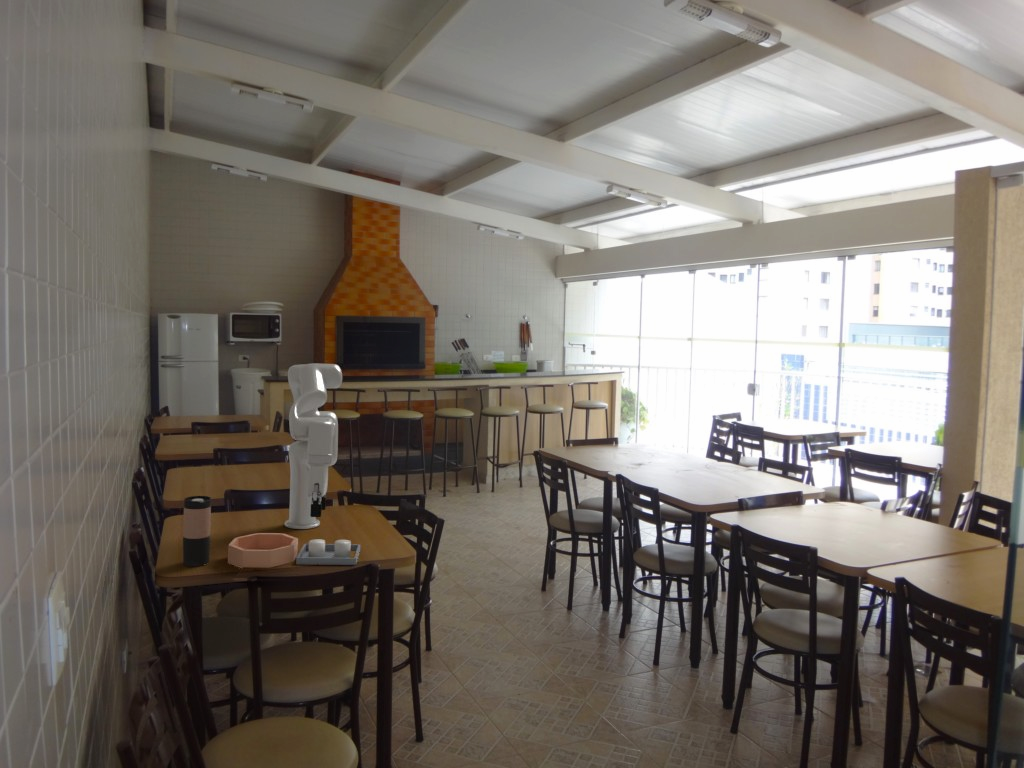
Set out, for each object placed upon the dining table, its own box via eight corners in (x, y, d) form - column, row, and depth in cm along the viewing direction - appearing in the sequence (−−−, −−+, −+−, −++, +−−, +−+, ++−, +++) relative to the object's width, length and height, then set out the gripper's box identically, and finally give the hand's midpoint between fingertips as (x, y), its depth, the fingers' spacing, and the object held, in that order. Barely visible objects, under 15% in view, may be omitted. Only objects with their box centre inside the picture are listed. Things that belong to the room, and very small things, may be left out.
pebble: (335, 554, 231) (335, 539, 231) (351, 554, 232) (351, 539, 232) (333, 559, 226) (333, 543, 226) (349, 559, 227) (350, 544, 227)
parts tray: (304, 552, 235) (304, 543, 235) (360, 552, 237) (360, 544, 237) (296, 566, 220) (296, 557, 220) (355, 567, 222) (356, 558, 222)
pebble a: (309, 554, 230) (310, 539, 230) (325, 554, 231) (326, 539, 231) (307, 559, 225) (307, 543, 225) (323, 559, 226) (324, 543, 226)
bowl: (239, 550, 234) (239, 532, 233) (300, 551, 236) (301, 533, 236) (222, 569, 214) (223, 550, 214) (289, 570, 217) (290, 551, 216)
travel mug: (188, 559, 222) (189, 495, 221) (213, 559, 223) (214, 496, 222) (178, 566, 215) (179, 500, 214) (204, 567, 215) (206, 501, 214)
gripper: (311, 455, 234) (310, 506, 235) (302, 463, 217) (301, 519, 218) (335, 455, 235) (333, 507, 236) (328, 464, 218) (326, 520, 219)
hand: (318, 513), depth 227 cm, fingers open, 9 cm apart
